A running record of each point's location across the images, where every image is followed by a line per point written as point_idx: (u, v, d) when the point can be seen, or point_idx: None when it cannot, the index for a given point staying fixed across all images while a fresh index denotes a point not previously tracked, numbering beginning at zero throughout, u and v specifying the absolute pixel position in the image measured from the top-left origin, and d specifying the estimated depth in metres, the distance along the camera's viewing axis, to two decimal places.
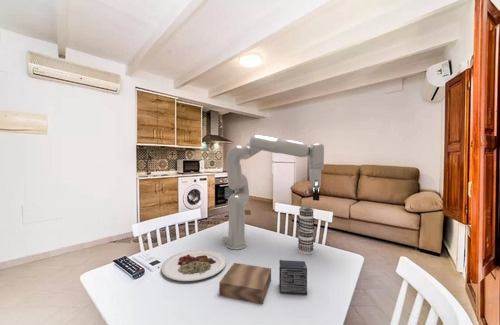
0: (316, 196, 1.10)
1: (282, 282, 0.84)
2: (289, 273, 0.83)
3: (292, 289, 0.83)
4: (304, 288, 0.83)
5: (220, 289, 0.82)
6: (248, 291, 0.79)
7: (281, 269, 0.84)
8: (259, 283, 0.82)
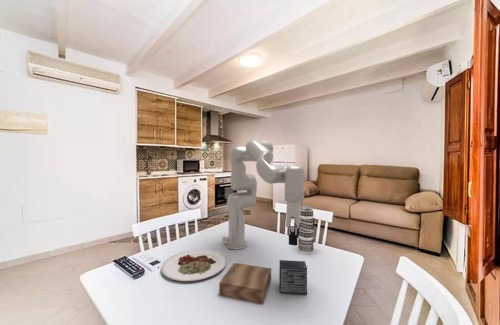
0: (293, 240, 0.80)
1: (282, 282, 0.84)
2: (289, 273, 0.83)
3: (292, 289, 0.83)
4: (304, 288, 0.83)
5: (220, 289, 0.82)
6: (248, 291, 0.79)
7: (281, 269, 0.84)
8: (259, 283, 0.82)
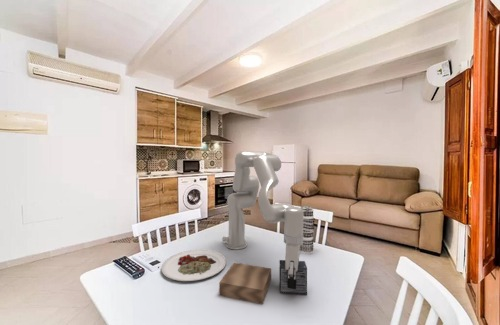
0: (292, 284, 0.81)
1: (282, 282, 0.84)
2: None
3: None
4: (304, 288, 0.83)
5: (220, 289, 0.82)
6: (248, 291, 0.79)
7: (281, 269, 0.84)
8: (259, 283, 0.82)
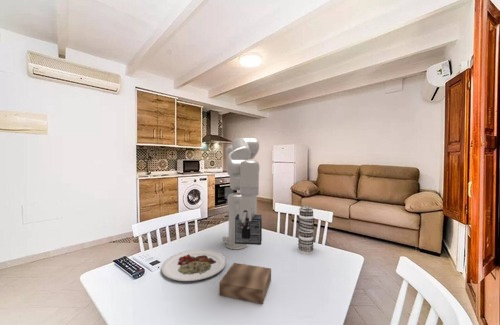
0: (245, 233, 0.82)
1: (237, 233, 0.84)
2: None
3: (247, 239, 0.84)
4: (258, 238, 0.84)
5: (220, 289, 0.82)
6: (248, 291, 0.79)
7: (236, 220, 0.84)
8: (259, 283, 0.82)
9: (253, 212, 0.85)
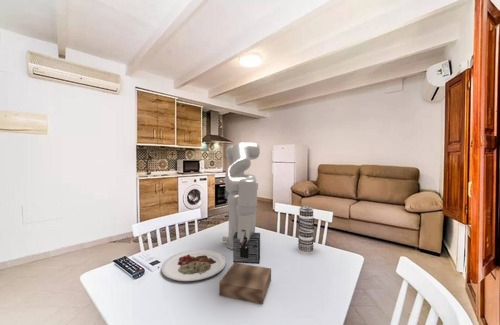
0: (243, 253, 0.82)
1: (235, 252, 0.84)
2: None
3: (245, 258, 0.84)
4: (256, 257, 0.84)
5: (220, 289, 0.82)
6: (248, 291, 0.79)
7: (234, 239, 0.85)
8: (259, 283, 0.82)
9: (251, 231, 0.85)
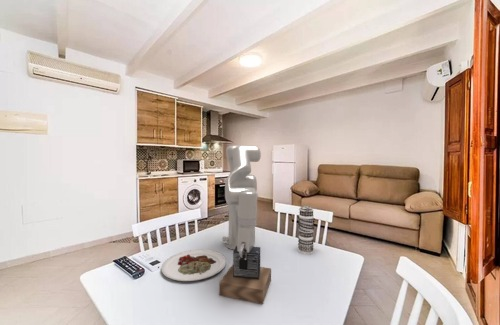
0: (243, 264, 0.82)
1: (235, 266, 0.85)
2: None
3: (245, 273, 0.85)
4: (256, 272, 0.84)
5: (220, 289, 0.82)
6: (248, 291, 0.79)
7: (234, 253, 0.85)
8: (259, 283, 0.82)
9: (251, 243, 0.85)
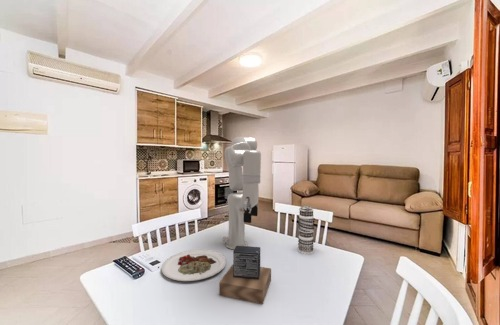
0: (247, 217, 0.87)
1: (235, 266, 0.85)
2: (241, 257, 0.85)
3: (245, 273, 0.85)
4: (256, 272, 0.84)
5: (220, 289, 0.82)
6: (248, 291, 0.79)
7: (234, 253, 0.85)
8: (259, 283, 0.82)
9: (255, 199, 0.90)
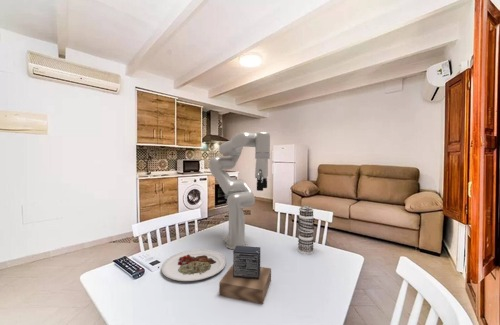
0: (259, 186, 1.06)
1: (235, 266, 0.85)
2: (241, 257, 0.85)
3: (245, 273, 0.85)
4: (256, 272, 0.84)
5: (220, 289, 0.82)
6: (248, 291, 0.79)
7: (234, 253, 0.85)
8: (259, 283, 0.82)
9: (266, 172, 1.09)
